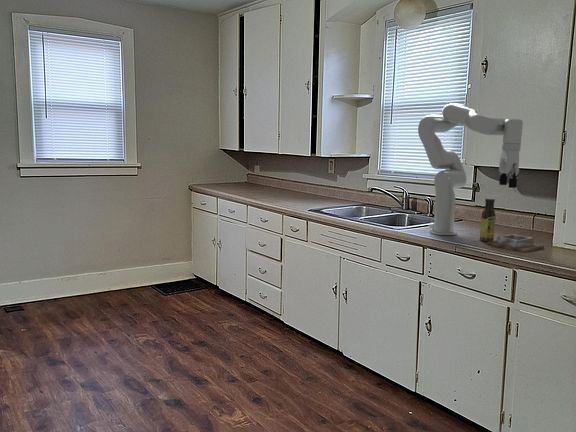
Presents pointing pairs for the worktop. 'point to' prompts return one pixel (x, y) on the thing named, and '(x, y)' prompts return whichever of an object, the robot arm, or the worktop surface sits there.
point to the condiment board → (516, 243)
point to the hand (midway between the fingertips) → (507, 186)
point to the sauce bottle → (488, 221)
